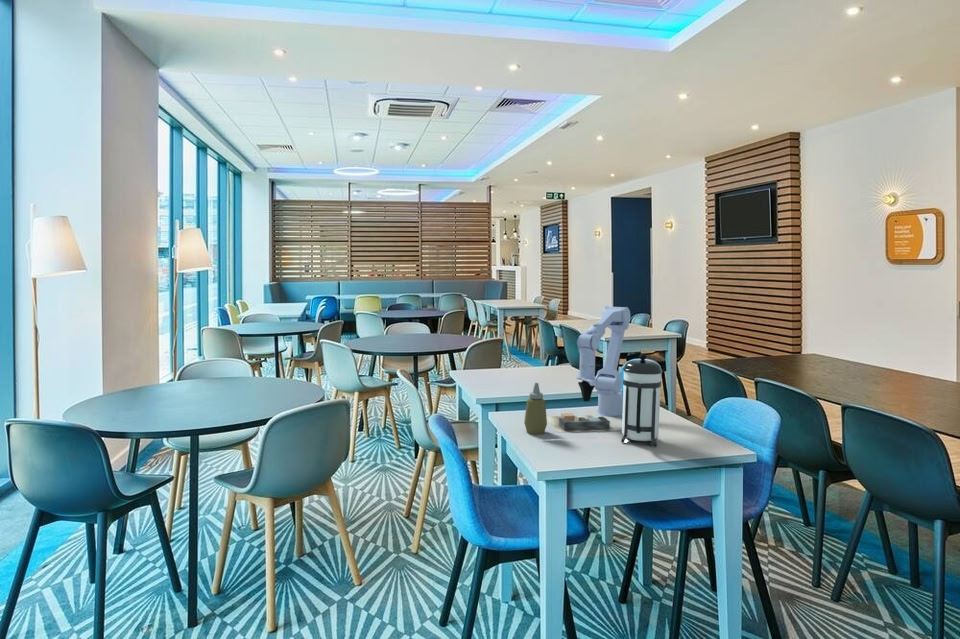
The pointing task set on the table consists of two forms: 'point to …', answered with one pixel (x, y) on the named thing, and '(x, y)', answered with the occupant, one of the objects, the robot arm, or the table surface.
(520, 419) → the table surface
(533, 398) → the squeeze bottle
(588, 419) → the slate-blue plug
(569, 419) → the peach square block
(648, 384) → the coffee press
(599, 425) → the comb board
